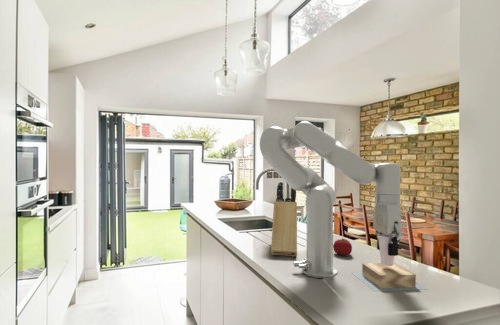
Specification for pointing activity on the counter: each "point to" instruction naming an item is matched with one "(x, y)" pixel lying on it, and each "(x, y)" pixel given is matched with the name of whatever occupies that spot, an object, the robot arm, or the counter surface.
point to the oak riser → (388, 275)
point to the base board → (376, 288)
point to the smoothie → (385, 250)
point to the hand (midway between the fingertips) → (387, 251)
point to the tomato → (342, 247)
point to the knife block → (284, 224)
